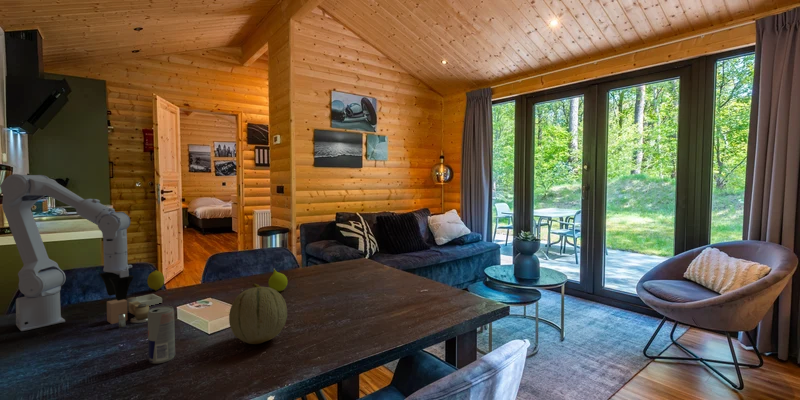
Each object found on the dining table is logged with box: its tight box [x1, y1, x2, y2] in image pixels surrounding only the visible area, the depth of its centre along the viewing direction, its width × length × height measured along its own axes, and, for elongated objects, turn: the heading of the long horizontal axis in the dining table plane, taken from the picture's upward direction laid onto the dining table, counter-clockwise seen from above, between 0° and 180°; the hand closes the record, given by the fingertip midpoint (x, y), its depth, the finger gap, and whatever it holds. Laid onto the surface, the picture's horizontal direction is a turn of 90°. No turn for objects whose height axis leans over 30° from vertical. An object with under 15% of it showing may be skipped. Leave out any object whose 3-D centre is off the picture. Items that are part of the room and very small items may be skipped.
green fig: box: [267, 267, 289, 293], centre depth 147 cm, size 7×7×10 cm
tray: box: [136, 293, 163, 307], centre depth 130 cm, size 8×8×2 cm
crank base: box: [118, 313, 148, 329], centre depth 114 cm, size 10×6×4 cm, turn 143°
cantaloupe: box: [228, 283, 288, 345], centre depth 101 cm, size 15×15×15 cm
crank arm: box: [125, 296, 150, 319], centre depth 118 cm, size 12×4×4 cm, turn 53°
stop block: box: [106, 299, 128, 325], centre depth 115 cm, size 4×4×6 cm
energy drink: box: [147, 305, 176, 364], centre depth 90 cm, size 5×5×12 cm
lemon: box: [147, 269, 165, 291], centre depth 146 cm, size 6×6×8 cm
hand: (116, 297), depth 115 cm, fingers open, 7 cm apart
